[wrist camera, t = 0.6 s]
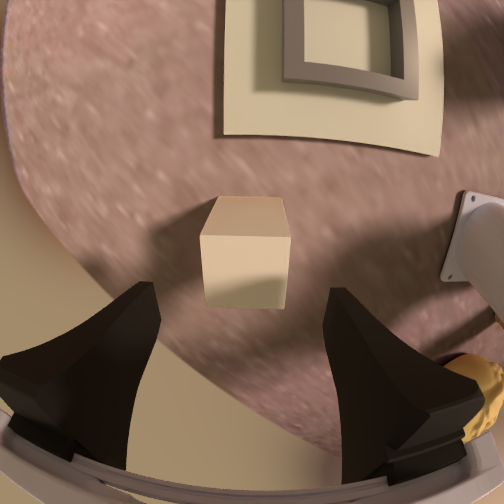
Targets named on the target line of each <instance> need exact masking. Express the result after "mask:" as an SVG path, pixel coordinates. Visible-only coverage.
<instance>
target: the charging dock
mask: <svg viewBox="0 0 504 504" xmlns="http://www.w3.org/2000/svg"><path fill="white" fill-rule="evenodd" d="M443 103H444V61H443V44H442V33H441V23H440V16H439V9H438V3H437V0H226V13H225V49H224V135H280V136H299V137H313V138H324V139H334V140H343V141H352V142H359V143H367V144H374V145H380V146H386V147H392V148H398V149H403V150H408V151H413V152H418V153H423V154H428V155H432V156H436V157H439V152H440V144H441V134H442V122H443Z"/></svg>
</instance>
